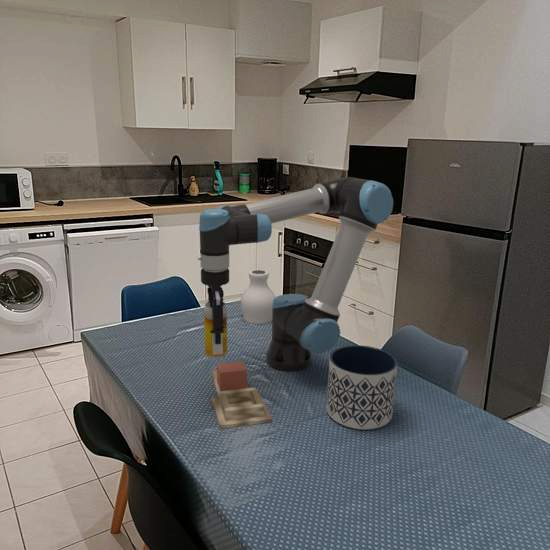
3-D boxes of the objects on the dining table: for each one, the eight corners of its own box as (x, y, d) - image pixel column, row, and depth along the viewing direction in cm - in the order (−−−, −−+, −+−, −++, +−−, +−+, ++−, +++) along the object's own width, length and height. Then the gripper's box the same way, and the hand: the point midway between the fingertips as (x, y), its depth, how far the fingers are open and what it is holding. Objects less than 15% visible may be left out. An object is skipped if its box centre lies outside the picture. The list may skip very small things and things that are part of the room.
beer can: (222, 360, 141) (222, 308, 137) (201, 357, 143) (200, 306, 138) (230, 351, 147) (229, 301, 142) (209, 348, 148) (208, 299, 144)
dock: (246, 369, 168) (247, 358, 167) (271, 422, 140) (271, 408, 138) (203, 374, 165) (203, 362, 163) (220, 428, 136) (219, 415, 135)
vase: (236, 324, 205) (236, 275, 199) (244, 311, 219) (245, 265, 213) (272, 327, 203) (273, 278, 197) (278, 314, 217) (279, 268, 211)
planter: (352, 389, 158) (356, 339, 153) (404, 413, 145) (410, 360, 140) (312, 411, 145) (315, 357, 140) (366, 439, 133) (371, 382, 128)
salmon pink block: (242, 378, 160) (242, 361, 158) (246, 388, 155) (246, 370, 153) (216, 381, 158) (216, 363, 156) (220, 391, 153) (220, 372, 151)
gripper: (197, 259, 146) (199, 335, 152) (203, 279, 128) (205, 364, 135) (224, 258, 147) (225, 333, 154) (234, 278, 129) (234, 362, 136)
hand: (216, 348), depth 144 cm, fingers closed on beer can, 6 cm apart
